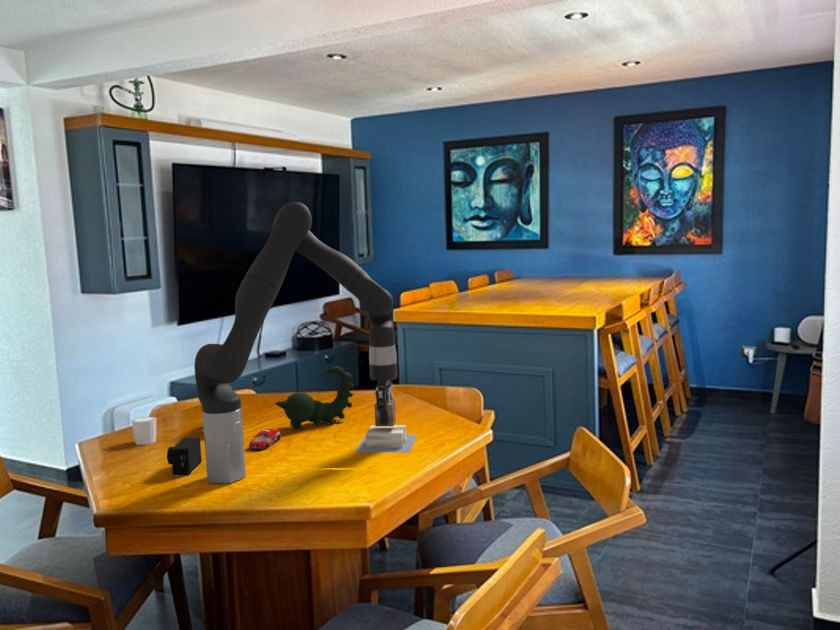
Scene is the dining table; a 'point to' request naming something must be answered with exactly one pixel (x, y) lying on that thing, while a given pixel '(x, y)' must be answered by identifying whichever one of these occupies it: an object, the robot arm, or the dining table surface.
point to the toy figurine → (318, 403)
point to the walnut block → (390, 414)
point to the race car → (265, 439)
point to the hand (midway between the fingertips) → (385, 421)
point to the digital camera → (185, 456)
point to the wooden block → (386, 436)
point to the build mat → (406, 448)
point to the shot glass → (144, 430)
